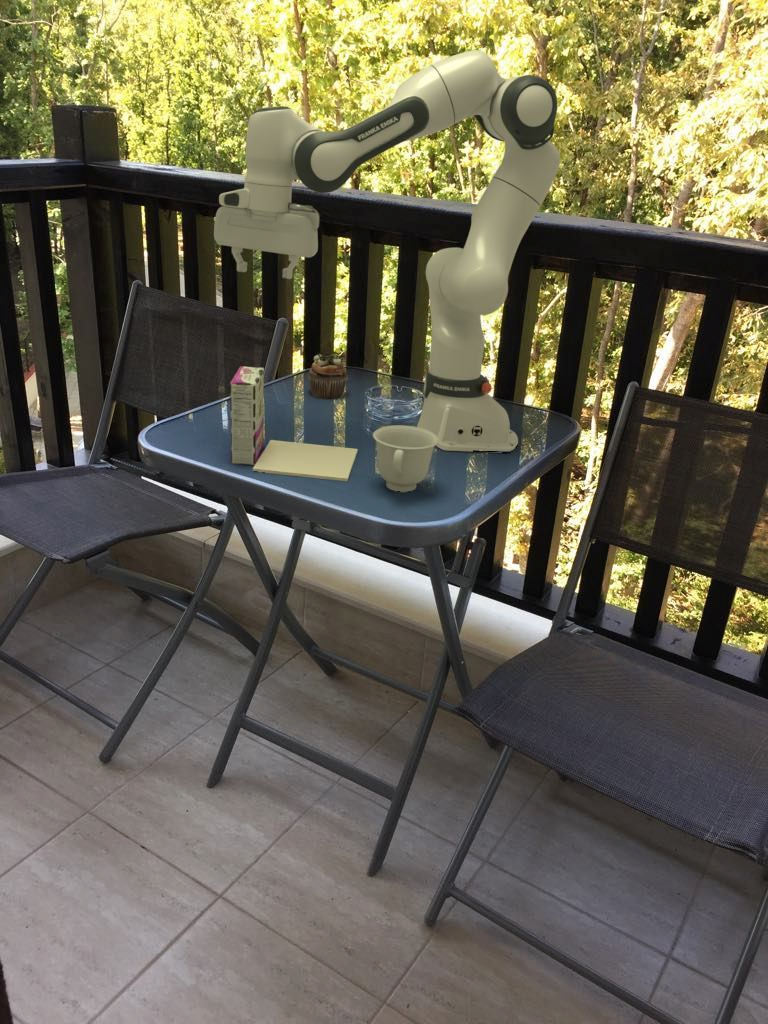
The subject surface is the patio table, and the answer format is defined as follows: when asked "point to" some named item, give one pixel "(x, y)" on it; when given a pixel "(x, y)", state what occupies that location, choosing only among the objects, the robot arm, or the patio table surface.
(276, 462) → the plain beige board
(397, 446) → the teacup
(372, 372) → the patio table surface
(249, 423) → the candy bar box
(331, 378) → the cupcake
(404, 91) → the robot arm
